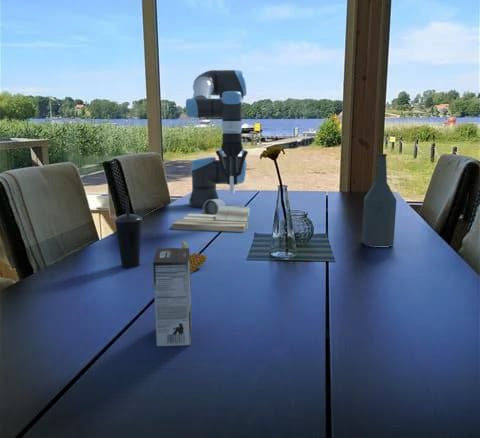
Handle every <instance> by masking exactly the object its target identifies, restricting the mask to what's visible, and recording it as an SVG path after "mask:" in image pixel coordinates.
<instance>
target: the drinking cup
mask: <svg viewBox="0 0 480 438" xmlns="http://www.w3.org/2000/svg"><path fill="white" fill-rule="evenodd" d="M125 208H126V209H125V210H126V213H125V214H122V215H118V216H117V217H116V218H114V219H113V222H114V223H115V230H116V235H117V236H116V237H117V242H118V250H119V255H120V262H121V267H122V268H125V269H133V268H137V267H139V266H140V259H141V255H140V254H141V238H142V237H141V236H142V235H141V233H142V220H143V217H142V216H139V215H137V214H133V213H130V206H129V196H128V195H126V196H125Z"/></svg>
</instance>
